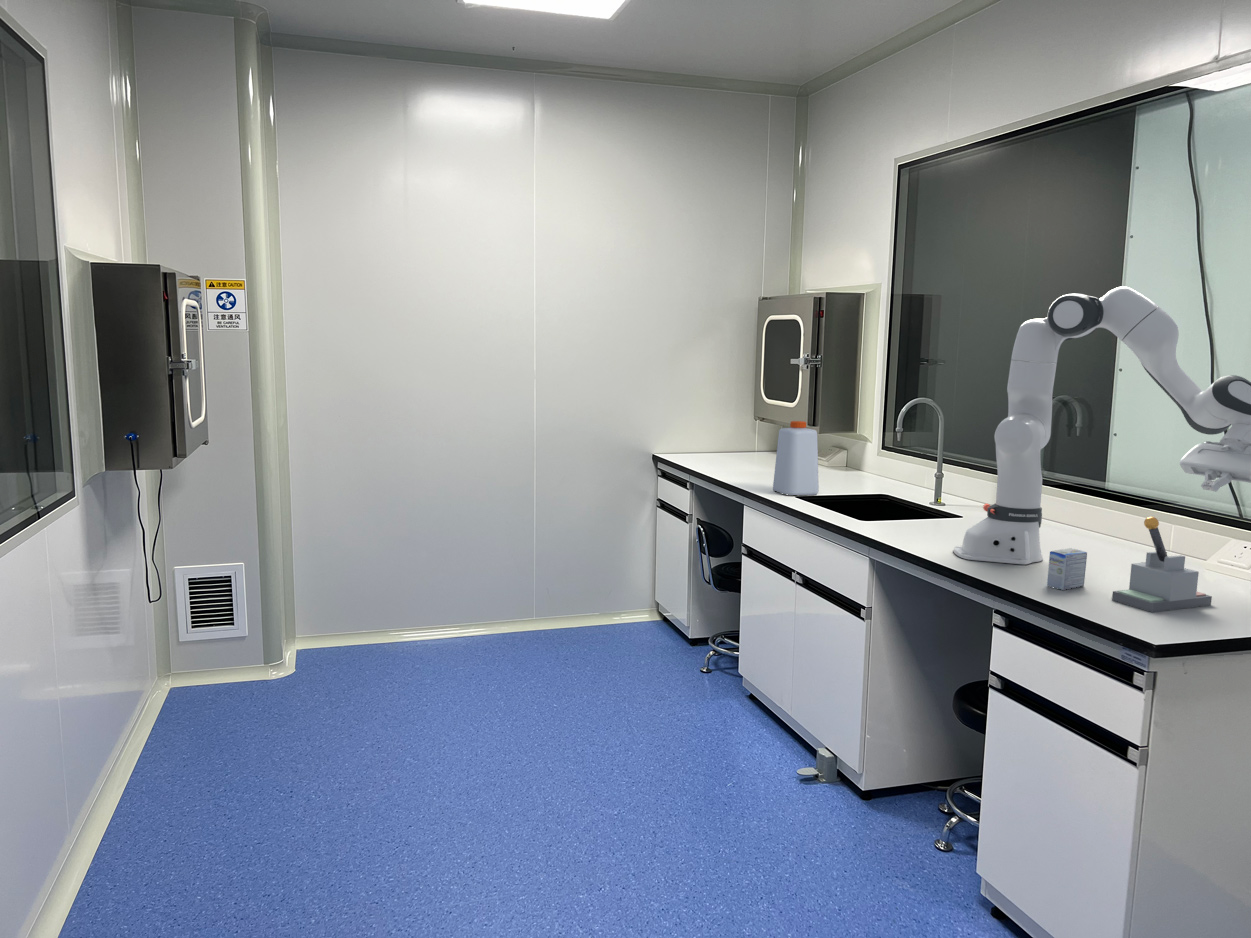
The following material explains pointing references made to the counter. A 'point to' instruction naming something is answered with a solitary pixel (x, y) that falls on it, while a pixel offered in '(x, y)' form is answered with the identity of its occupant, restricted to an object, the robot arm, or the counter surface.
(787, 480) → the plastic bottle
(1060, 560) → the medicine box
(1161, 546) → the lever
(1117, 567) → the counter surface
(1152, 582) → the breaker block
